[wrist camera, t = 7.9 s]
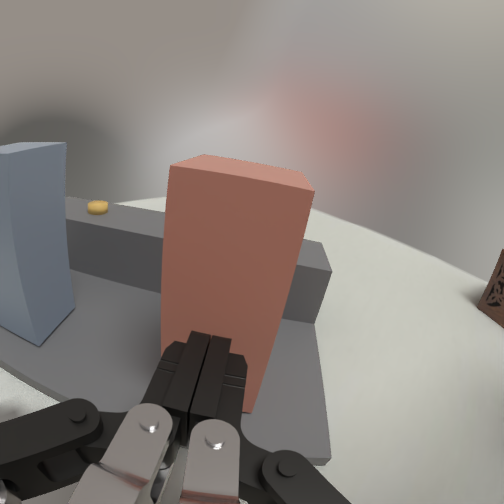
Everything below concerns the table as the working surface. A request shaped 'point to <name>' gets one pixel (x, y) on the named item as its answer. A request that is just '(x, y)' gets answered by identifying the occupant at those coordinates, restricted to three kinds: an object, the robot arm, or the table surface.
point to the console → (149, 331)
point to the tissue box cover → (495, 294)
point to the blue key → (33, 240)
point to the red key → (231, 254)
